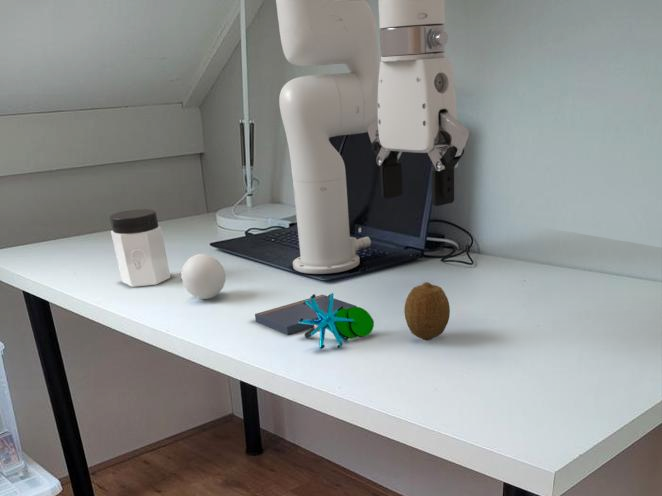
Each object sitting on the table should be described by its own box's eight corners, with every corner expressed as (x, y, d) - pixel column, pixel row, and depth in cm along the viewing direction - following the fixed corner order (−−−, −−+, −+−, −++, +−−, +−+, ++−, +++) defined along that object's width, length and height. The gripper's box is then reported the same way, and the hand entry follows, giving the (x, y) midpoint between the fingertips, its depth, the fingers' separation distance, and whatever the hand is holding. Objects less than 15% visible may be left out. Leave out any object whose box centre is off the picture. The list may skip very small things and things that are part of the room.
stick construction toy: (312, 342, 99) (301, 287, 100) (286, 360, 105) (277, 308, 106) (383, 345, 106) (373, 293, 107) (356, 362, 112) (346, 313, 113)
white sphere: (237, 294, 129) (231, 251, 125) (207, 307, 124) (199, 262, 120) (196, 287, 134) (189, 245, 130) (165, 299, 129) (157, 256, 125)
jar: (119, 288, 136) (103, 220, 130) (125, 276, 143) (110, 211, 137) (168, 284, 137) (155, 216, 131) (172, 272, 144) (160, 207, 138)
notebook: (323, 301, 122) (322, 294, 122) (357, 313, 116) (356, 305, 116) (255, 321, 116) (254, 313, 115) (287, 334, 110) (286, 326, 109)
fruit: (407, 331, 108) (405, 276, 104) (450, 331, 107) (450, 275, 103) (403, 347, 102) (401, 289, 98) (449, 347, 101) (448, 288, 97)
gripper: (489, 39, 83) (487, 202, 92) (389, 47, 95) (395, 190, 104) (440, 43, 79) (442, 212, 88) (342, 50, 91) (352, 198, 100)
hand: (416, 200), depth 96 cm, fingers open, 9 cm apart
